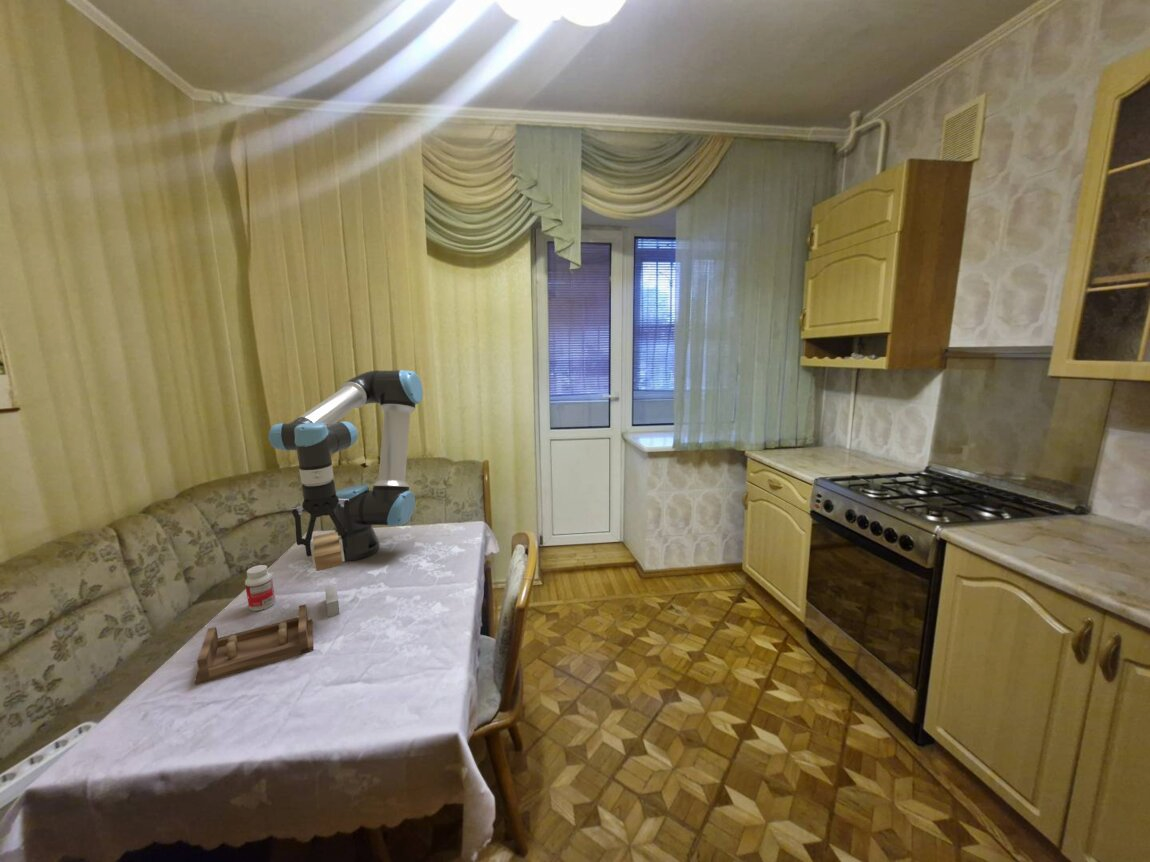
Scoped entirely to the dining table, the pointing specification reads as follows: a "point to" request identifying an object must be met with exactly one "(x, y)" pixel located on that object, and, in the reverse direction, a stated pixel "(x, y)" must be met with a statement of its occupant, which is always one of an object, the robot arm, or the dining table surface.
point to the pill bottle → (259, 588)
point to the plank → (327, 551)
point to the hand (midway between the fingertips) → (329, 562)
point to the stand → (332, 600)
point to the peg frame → (253, 647)
